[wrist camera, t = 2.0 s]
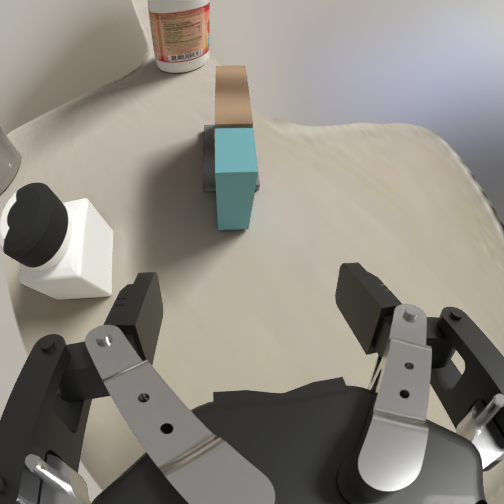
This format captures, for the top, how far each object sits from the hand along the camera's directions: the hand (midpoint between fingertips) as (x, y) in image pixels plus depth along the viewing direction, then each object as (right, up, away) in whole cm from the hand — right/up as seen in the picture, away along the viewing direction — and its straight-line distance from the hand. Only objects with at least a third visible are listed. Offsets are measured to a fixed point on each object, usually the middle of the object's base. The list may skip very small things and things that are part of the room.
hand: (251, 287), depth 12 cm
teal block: (-2, +6, +17) cm, 18 cm away
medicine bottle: (-18, 0, +14) cm, 22 cm away
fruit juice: (-12, +35, +27) cm, 46 cm away
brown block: (-3, +13, +20) cm, 23 cm away
